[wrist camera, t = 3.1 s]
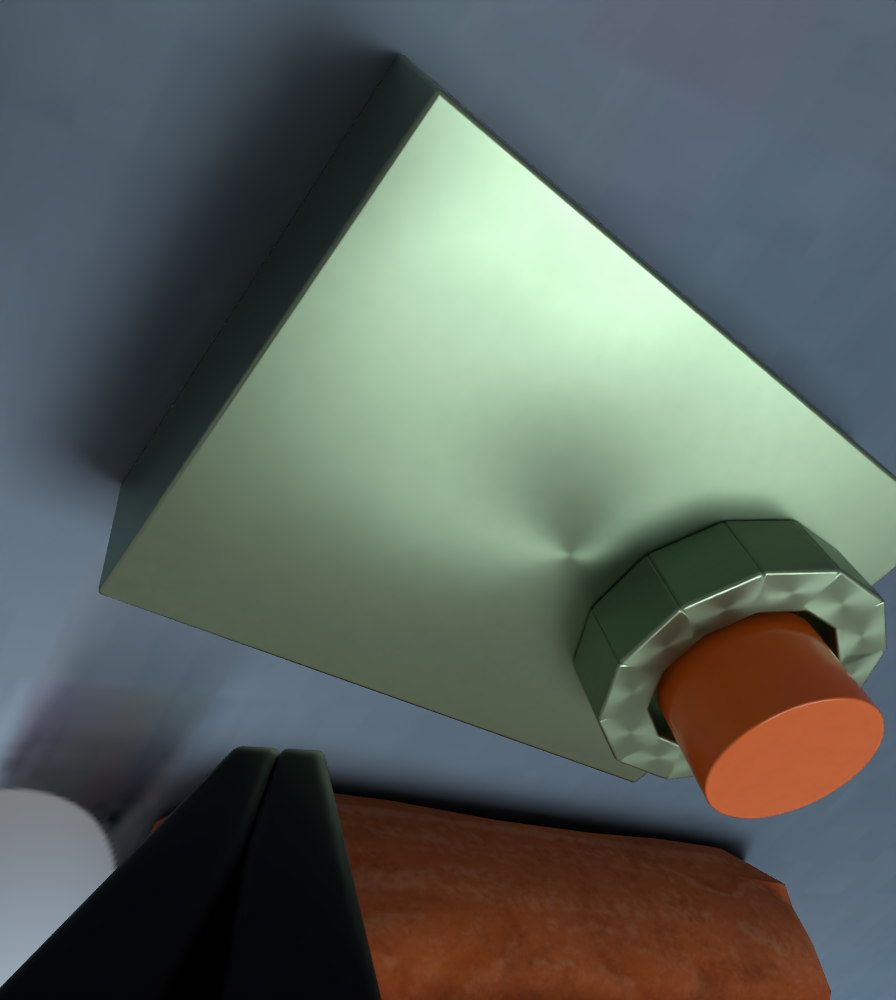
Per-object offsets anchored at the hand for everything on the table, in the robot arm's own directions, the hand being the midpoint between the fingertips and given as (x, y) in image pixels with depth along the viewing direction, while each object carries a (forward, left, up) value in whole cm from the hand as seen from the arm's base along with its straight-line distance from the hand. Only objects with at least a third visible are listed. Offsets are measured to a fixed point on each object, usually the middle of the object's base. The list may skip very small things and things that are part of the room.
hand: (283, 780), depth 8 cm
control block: (+7, 0, -11) cm, 14 cm away
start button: (+12, -1, -6) cm, 14 cm away
